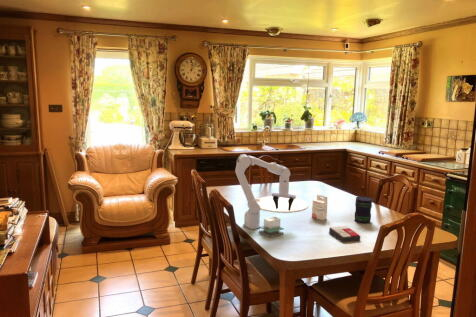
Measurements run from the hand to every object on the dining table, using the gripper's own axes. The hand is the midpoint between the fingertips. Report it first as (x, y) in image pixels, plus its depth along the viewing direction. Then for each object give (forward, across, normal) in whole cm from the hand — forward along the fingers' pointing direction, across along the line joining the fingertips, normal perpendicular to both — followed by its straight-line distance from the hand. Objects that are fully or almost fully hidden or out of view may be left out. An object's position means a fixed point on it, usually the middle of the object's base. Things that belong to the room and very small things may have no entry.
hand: (283, 209), depth 232 cm
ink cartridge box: (+11, +17, +24) cm, 32 cm away
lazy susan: (+11, -15, +45) cm, 48 cm away
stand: (+10, -2, -15) cm, 19 cm away
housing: (+7, -2, -15) cm, 17 cm away
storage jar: (+11, +44, +30) cm, 54 cm away
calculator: (+11, +37, -3) cm, 39 cm away
